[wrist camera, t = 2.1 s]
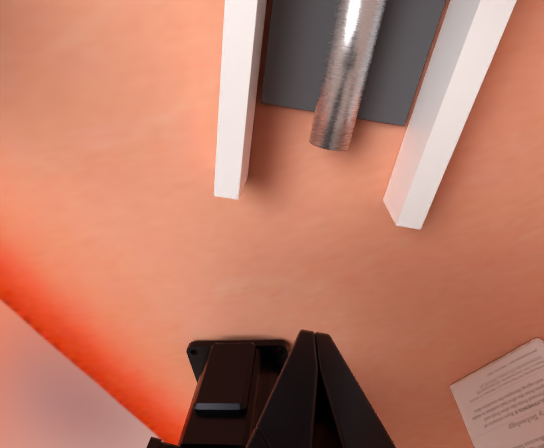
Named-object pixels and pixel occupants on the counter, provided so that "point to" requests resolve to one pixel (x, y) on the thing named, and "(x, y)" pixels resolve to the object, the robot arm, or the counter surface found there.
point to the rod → (345, 71)
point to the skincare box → (505, 400)
